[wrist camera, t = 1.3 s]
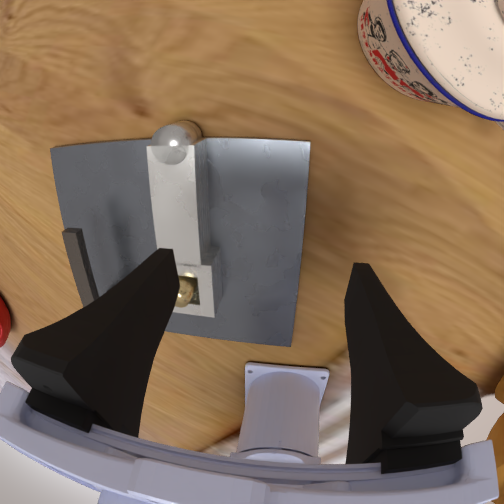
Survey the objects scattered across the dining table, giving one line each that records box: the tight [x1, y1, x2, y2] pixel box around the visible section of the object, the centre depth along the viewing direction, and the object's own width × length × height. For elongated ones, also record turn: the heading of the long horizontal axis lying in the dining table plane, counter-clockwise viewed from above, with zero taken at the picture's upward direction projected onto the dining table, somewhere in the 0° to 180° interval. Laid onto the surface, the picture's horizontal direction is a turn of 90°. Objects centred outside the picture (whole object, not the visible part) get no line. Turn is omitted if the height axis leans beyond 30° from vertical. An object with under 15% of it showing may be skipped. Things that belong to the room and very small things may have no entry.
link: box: [146, 120, 222, 318], centre depth 21 cm, size 13×4×3 cm, turn 179°
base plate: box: [50, 137, 311, 347], centre depth 24 cm, size 17×20×1 cm
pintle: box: [175, 275, 198, 308], centre depth 23 cm, size 2×2×4 cm
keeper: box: [62, 228, 108, 307], centre depth 24 cm, size 9×1×4 cm, turn 179°
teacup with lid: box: [357, 0, 504, 130], centre depth 10 cm, size 12×9×12 cm
